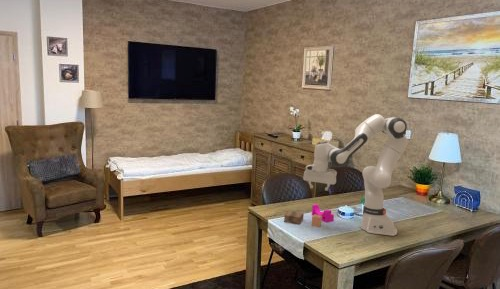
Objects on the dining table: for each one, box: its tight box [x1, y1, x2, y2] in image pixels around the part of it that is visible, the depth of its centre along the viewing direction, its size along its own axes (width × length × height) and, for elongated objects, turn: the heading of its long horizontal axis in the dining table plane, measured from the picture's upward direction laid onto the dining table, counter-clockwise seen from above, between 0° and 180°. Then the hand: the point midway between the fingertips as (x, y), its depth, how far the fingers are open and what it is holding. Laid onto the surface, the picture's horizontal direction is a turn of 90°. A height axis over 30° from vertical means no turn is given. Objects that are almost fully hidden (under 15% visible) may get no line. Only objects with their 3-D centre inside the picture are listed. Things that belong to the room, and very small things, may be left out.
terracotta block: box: [311, 214, 323, 228], centre depth 241 cm, size 5×5×6 cm
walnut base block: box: [283, 210, 304, 226], centre depth 247 cm, size 10×10×5 cm
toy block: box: [311, 204, 335, 223], centre depth 255 cm, size 15×6×8 cm, turn 29°
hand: (318, 189), depth 238 cm, fingers open, 8 cm apart
